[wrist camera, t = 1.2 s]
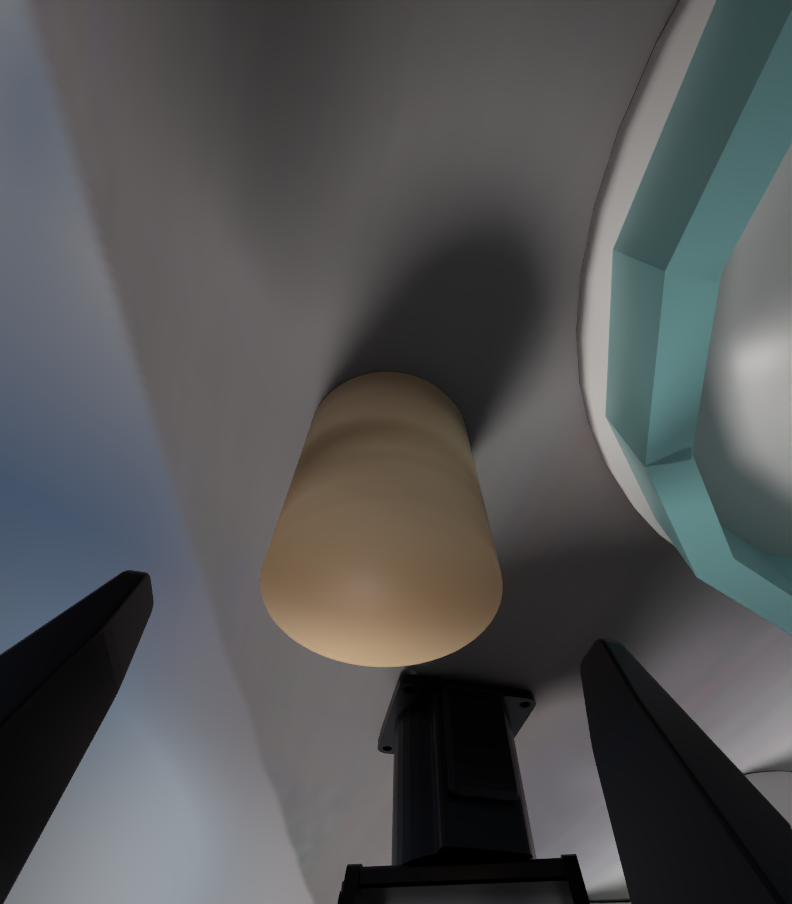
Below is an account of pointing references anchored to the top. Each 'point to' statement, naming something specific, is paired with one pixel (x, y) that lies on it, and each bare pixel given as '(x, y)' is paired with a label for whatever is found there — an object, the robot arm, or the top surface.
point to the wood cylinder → (384, 530)
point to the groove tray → (736, 333)
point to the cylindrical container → (775, 790)
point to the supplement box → (611, 903)
